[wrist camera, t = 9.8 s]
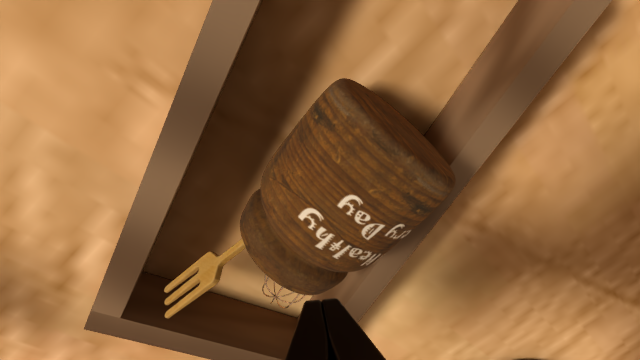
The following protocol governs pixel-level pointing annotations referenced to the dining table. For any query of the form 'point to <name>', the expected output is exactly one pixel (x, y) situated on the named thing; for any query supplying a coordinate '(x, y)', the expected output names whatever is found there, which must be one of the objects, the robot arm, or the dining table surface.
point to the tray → (359, 286)
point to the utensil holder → (332, 197)
